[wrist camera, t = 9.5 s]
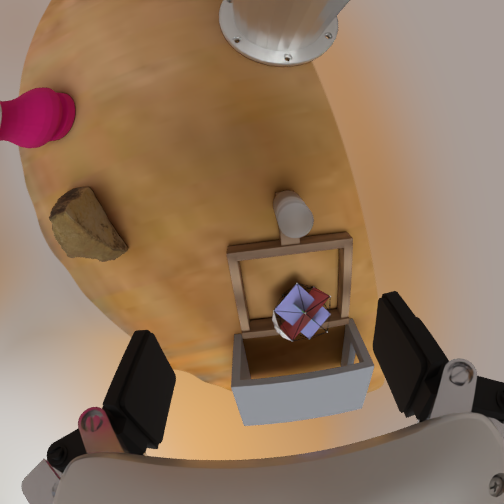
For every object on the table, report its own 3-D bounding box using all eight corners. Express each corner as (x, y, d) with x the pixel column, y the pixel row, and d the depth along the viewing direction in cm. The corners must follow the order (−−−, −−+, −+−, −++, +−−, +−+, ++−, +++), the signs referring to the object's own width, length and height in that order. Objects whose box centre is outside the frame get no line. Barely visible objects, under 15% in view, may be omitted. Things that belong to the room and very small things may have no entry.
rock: (145, 264, 30) (123, 182, 25) (86, 303, 24) (49, 218, 19) (107, 241, 36) (88, 177, 30) (59, 270, 30) (33, 203, 25)
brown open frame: (219, 195, 29) (209, 214, 22) (345, 181, 28) (372, 197, 22) (243, 326, 36) (242, 365, 30) (343, 313, 36) (359, 348, 29)
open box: (234, 334, 37) (231, 387, 29) (352, 318, 36) (374, 365, 28) (244, 377, 41) (244, 425, 33) (346, 363, 41) (361, 408, 32)
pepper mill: (77, 81, 22) (-54, 72, 4) (81, 134, 25) (-56, 165, 7) (38, 101, 23) (-81, 114, 4) (42, 150, 26) (-78, 191, 7)
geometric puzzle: (318, 262, 30) (294, 323, 26) (350, 296, 32) (333, 354, 28) (277, 276, 36) (252, 327, 31) (310, 305, 38) (290, 354, 33)
